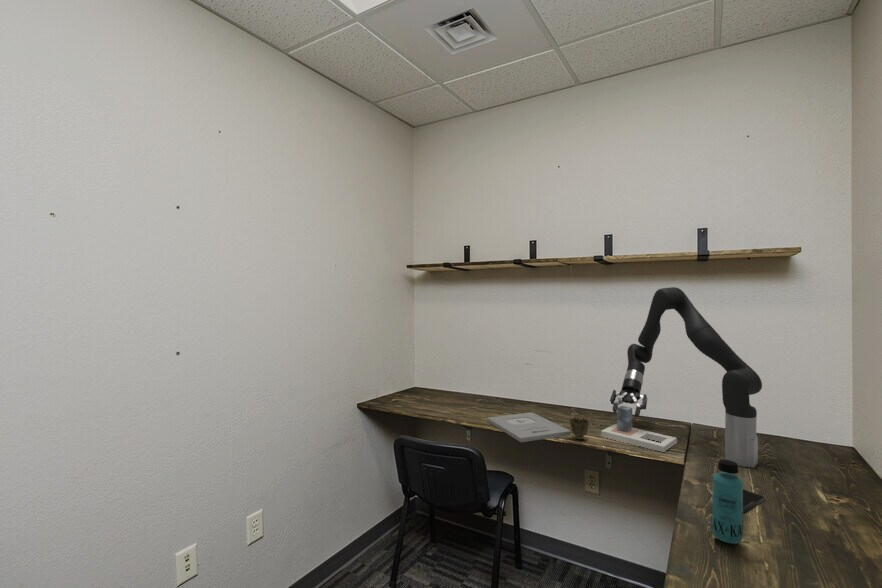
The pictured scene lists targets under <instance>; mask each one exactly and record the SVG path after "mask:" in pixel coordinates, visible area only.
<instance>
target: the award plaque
mask: <svg viewBox="0 0 882 588" xmlns="http://www.w3.org/2000/svg"><path fill="white" fill-rule="evenodd" d="M486 422H488V423H489V424H491V425H493V426H494V427H496V428H497V429H499V430H500V431H502V432H503V433H505V434H506V435H508V436H510V437H512V438H513V439H514V440H517V441H518V442H519V443H526V442H532V441H540V440H546V439H552V438H553V439H554V438H560V437H566V436H567V435H568V436H572V431H571V429H570V430H569V429H568V428H566V427H563V426H561V425H559V424H557V423H555V422H554V421H553V422H552V421H551V420H548V419H546V418H545V417H543V416H541V415H538V414H536V413H534V412H532V411H531V412H524V413H522V412H521V413H515V414H507V415H499V416H491V417H486Z"/></svg>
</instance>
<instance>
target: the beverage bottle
mask: <svg viewBox="0 0 882 588" xmlns="http://www.w3.org/2000/svg"><path fill="white" fill-rule="evenodd" d="M717 470H719V471H720V472H717V473H715V474H714V475H713V476H712V499H711V500H712V501H711V516H710V517H711V518H710V519H711V521H710V522H711V525H710V527H711V532H712V535H713V536H714V537H715V538H716V539H718V540H720V541H722V542H725V543H727V544H739V543H742V540H743V535H744V523H743V522H744V519H743V518H744V513H743V512H744V511H743V507H744V506H743V489H744V482H743V481H742V479H741V478H739V477H738V476H737V475H736V474H739V466H738V465H737V463H736V462H733V461H730V460H725V459H720V460H718V466H717Z"/></svg>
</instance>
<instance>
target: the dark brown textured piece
mask: <svg viewBox="0 0 882 588" xmlns="http://www.w3.org/2000/svg"><path fill="white" fill-rule="evenodd" d="M569 422H570V423H569V425H570V431H571V434H573V435H574V439H575V440H578V441H583V440H584V438H585V436H586V435H587V433H588V430H589V429H588V428H589V424H590V423H589V420H588V418H584V417H581V419H580V417H570V418H569Z"/></svg>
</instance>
